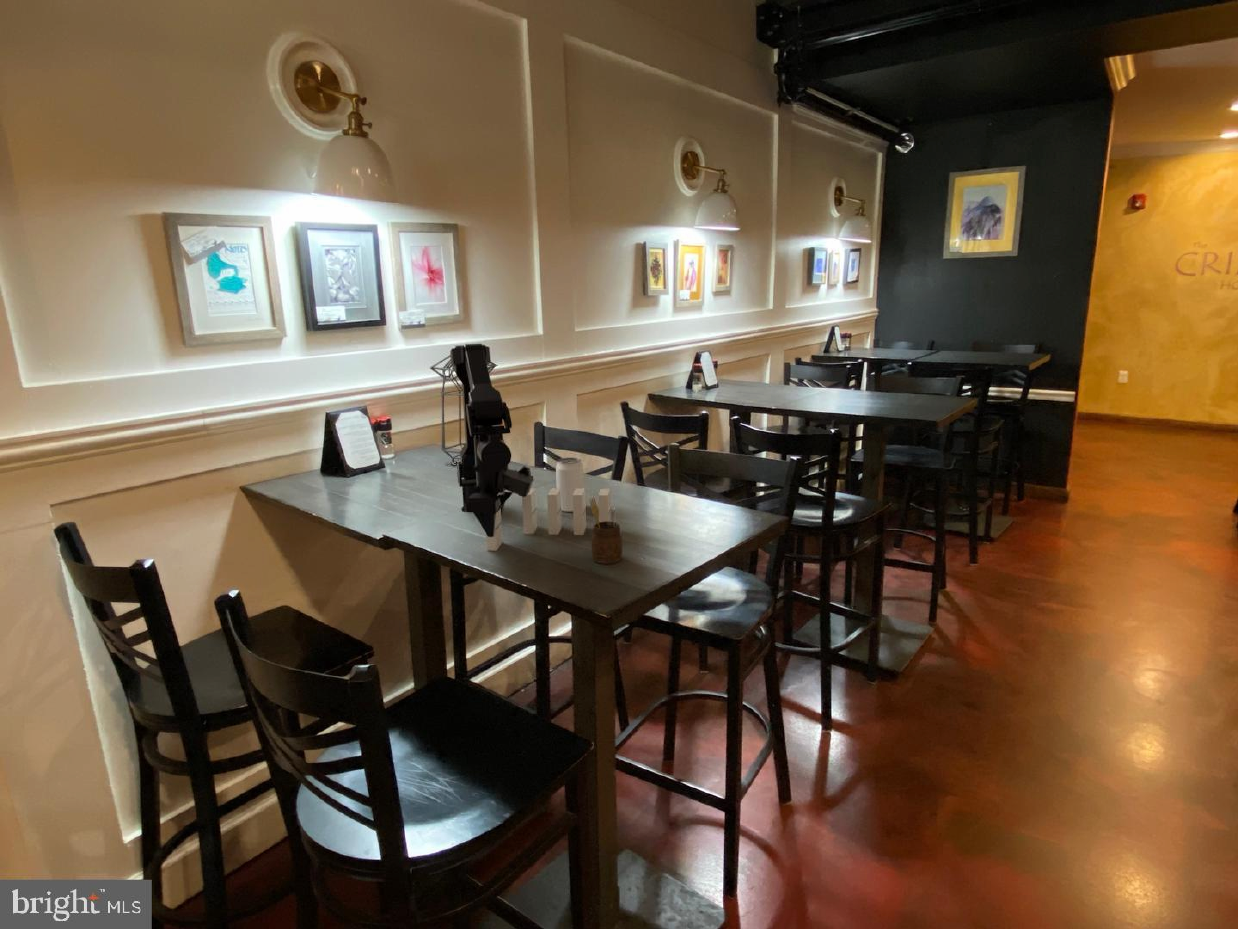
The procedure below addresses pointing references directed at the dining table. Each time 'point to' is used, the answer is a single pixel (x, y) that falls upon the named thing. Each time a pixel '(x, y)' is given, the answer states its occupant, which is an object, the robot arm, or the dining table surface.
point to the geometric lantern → (447, 367)
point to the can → (569, 480)
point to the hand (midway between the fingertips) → (494, 532)
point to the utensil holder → (606, 539)
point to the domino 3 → (554, 511)
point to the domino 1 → (495, 534)
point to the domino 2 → (530, 512)
